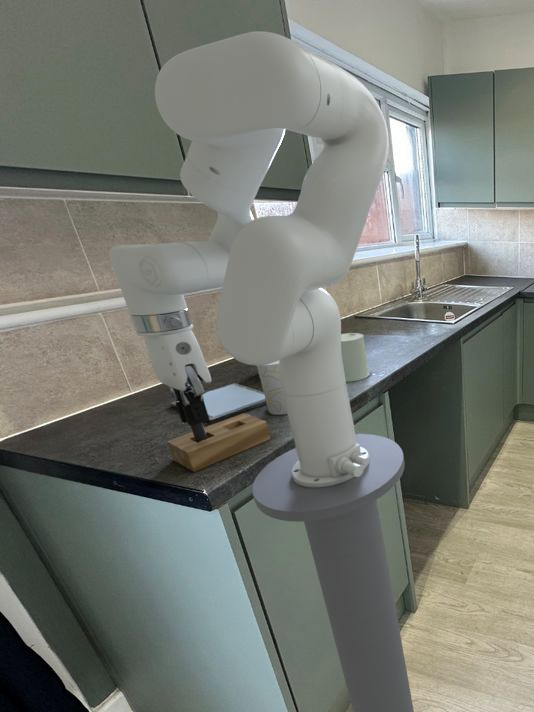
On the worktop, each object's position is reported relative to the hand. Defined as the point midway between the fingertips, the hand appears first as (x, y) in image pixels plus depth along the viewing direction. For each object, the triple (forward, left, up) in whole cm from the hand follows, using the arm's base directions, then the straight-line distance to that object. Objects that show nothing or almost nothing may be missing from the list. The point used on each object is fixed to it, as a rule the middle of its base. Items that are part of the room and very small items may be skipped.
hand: (195, 420), depth 76 cm
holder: (0, -3, -7) cm, 8 cm away
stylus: (0, 0, -7) cm, 7 cm away
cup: (+8, -21, -8) cm, 24 cm away
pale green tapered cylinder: (+12, -43, -8) cm, 45 cm away
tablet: (+25, -15, -7) cm, 30 cm away
